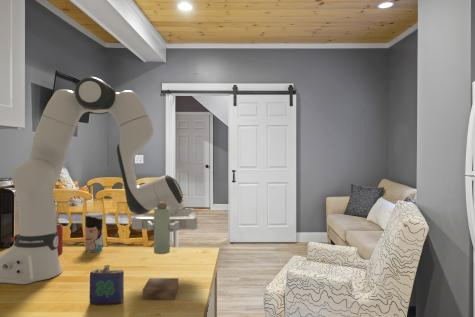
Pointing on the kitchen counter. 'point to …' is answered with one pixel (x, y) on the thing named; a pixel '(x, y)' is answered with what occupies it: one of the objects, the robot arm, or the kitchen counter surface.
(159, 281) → the plinth
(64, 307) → the kitchen counter surface
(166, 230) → the pepper mill
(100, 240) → the cup
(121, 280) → the flask
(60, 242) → the beer can
